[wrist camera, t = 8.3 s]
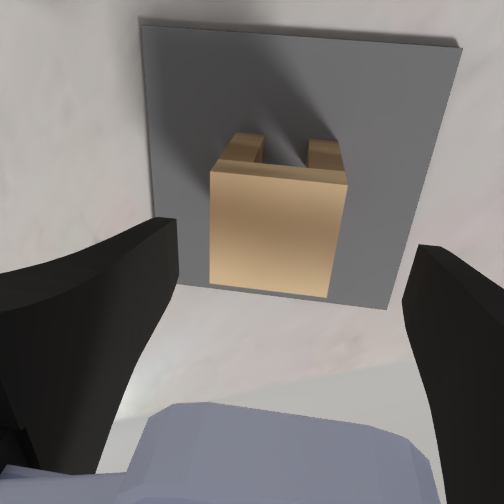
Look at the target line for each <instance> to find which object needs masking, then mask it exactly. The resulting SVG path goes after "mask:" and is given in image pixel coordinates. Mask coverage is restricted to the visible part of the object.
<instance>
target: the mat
mask: <svg viewBox="0 0 504 504" xmlns="http://www.w3.org/2000/svg"><path fill="white" fill-rule="evenodd" d="M141 31H142V45H143V59H144V72H145V86H146V100H147V114H148V128H149V142H150V156H151V170H152V184H153V197H154V211H155V217H164V218H174V219H177V237H178V257H179V277H178V280H177V283H176V284H182V285H190V286H198V287H206V288H214V289H222V290H230V291H238V292H246V293H254V294H262V295H270V296H278V297H286V298H294V299H303V300H311V301H319V302H327V303H335V304H343V305H351V306H359V307H367V308H375V309H383V310H387V307H388V304H389V300H390V297H391V294H392V290H393V287H394V283H395V280H396V276H397V273H398V270H399V266H400V263H401V259H402V256H403V252H404V249H405V246H406V242H407V239H408V235H409V232H410V228H411V225H412V222H413V218H414V215H415V211H416V208H417V204H418V201H419V198H420V194H421V191H422V187H423V184H424V181H425V177H426V174H427V170H428V167H429V163H430V160H431V157H432V153H433V150H434V146H435V143H436V139H437V136H438V133H439V129H440V126H441V122H442V119H443V115H444V112H445V109H446V105H447V102H448V98H449V95H450V91H451V88H452V85H453V81H454V78H455V74H456V71H457V67H458V64H459V61H460V57H461V54H462V50H463V48H456V47H442V46H428V45H414V44H400V43H386V42H372V41H358V40H344V39H330V38H316V37H302V36H288V35H273V34H259V33H245V32H231V31H217V30H203V29H189V28H175V27H161V26H147V25H141ZM236 132H241V133H252V134H263V135H265V136H264V150H263V164H273V165H284V166H294V167H304V168H306V161H307V153H308V146H309V139H317V140H328V141H338V142H339V147H340V151H341V156H342V160H343V165H344V169H345V174H346V178H347V183H348V188H347V193H346V198H345V204H344V209H343V214H342V219H341V225H340V230H339V235H338V240H337V246H336V251H335V256H334V261H333V267H332V272H331V277H330V282H329V288H328V293H327V298H324V297H316V296H308V295H300V294H291V293H283V292H275V291H267V290H259V289H251V288H243V287H235V286H227V285H219V284H210V171H211V169H212V168H213V166H214V165H215V163H216V162H217V160H218V159H219V157H220V156H221V154H222V153H223V151H224V150H225V148H226V147H227V146H228V144H229V143H230V141H231V140H232V138H233V137H234V135H235V134H236Z"/></svg>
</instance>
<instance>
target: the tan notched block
mask: <svg viewBox="0 0 504 504" xmlns="http://www.w3.org/2000/svg"><path fill="white" fill-rule="evenodd" d="M264 136H265V135H263V134H252V133H241V132H236V134H235V135H234V137H233V138H232V140H231V141H230V143H229V144H228V146H227V147H226V148H225V150H224V151H223V153H222V154H221V156H220V157H219V159H218V160H217V162H216V163H215V165H214V166H213V168H212V169H211V171H210V284H219V285H227V286H235V287H243V288H251V289H259V290H267V291H275V292H283V293H291V294H300V295H308V296H316V297H324V298H327V293H328V288H329V282H330V277H331V272H332V267H333V261H334V256H335V251H336V246H337V240H338V235H339V230H340V225H341V219H342V214H343V209H344V204H345V198H346V193H347V188H348V183H347V178H346V174H345V169H344V165H343V160H342V156H341V151H340V147H339V142H338V141H328V140H317V139H309V146H308V153H307V161H306V168H304V167H294V166H284V165H273V164H263V150H264Z"/></svg>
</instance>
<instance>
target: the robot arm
mask: <svg viewBox="0 0 504 504" xmlns="http://www.w3.org/2000/svg"><path fill="white" fill-rule="evenodd" d="M178 277H179V257H178V237H177V219H174V218H164V217H155V218H152V219H149V220H147V221H145V222H143V223H141V224H138V225H136V226H134V227H132V228H130V229H128V230H126V231H124V232H122V233H120V234H118V235H115V236H113V237H111V238H109V239H107V240H104V241H102V242H100V243H97V244H95V245H93V246H90V247H88V248H86V249H83V250H81V251H78V252H76V253H73V254H70V255H67V256H64V257H61V258H58V259H55V260H52V261H49V262H45V263H42V264H38V265H34V266H30V267H26V268H22V269H18V270H14V271H10V272H6V273H1V274H0V504H440V500H439V496H438V493H437V489H436V485H435V481H434V478H433V473H432V470H431V466H430V462H429V460H428V459H427V458H426V457H425V456H424V455H423V454H422V453H421V452H420V451H419V450H418V449H417V448H416V447H415V446H414V445H413V444H412V443H411V442H410V441H409V440H408V439H406V438H404V437H402V436H399V435H396V434H393V433H390V432H387V431H384V430H381V429H378V428H375V427H372V426H369V425H362V424H356V423H349V422H342V421H335V420H328V419H322V418H315V417H308V416H301V415H294V414H287V413H280V412H273V411H267V410H260V409H253V408H246V407H240V406H232V405H226V404H218V403H212V402H198V403H177V404H172V405H170V406H169V407H167V408H165V409H163V410H162V411H160V412H158V413H156V414H155V415H153V416H151V417H149V419H148V421H147V423H146V426H145V428H144V431H143V433H142V435H141V438H140V440H139V443H138V445H137V448H136V450H135V453H134V455H133V457H132V460H131V462H130V464H129V467H128V469H127V472H122V473H106V474H95V473H96V469H97V467H98V464H99V461H100V458H101V455H102V452H103V449H104V446H105V444H106V441H107V438H108V435H109V432H110V429H111V426H112V424H113V421H114V419H115V416H116V413H117V411H118V408H119V405H120V403H121V400H122V397H123V395H124V392H125V390H126V387H127V385H128V382H129V380H130V377H131V375H132V373H133V370H134V368H135V366H136V364H137V361H138V359H139V357H140V355H141V353H142V352H143V350H144V348H145V346H146V344H147V342H148V341H149V339H150V337H151V335H152V333H153V332H154V330H155V328H156V326H157V324H158V322H159V321H160V319H161V317H162V315H163V313H164V311H165V309H166V308H167V306H168V304H169V302H170V300H171V297H172V294H173V292H174V289H175V286H176V283H177V280H178ZM402 307H403V315H404V321H405V327H406V331H407V335H408V338H409V341H410V344H411V348H412V351H413V354H414V357H415V360H416V363H417V366H418V369H419V372H420V376H421V379H422V382H423V384H424V388H425V391H426V394H427V398H428V401H429V405H430V409H431V414H432V418H433V423H434V429H435V434H436V439H437V444H438V450H439V456H440V462H441V468H442V474H443V479H444V486H445V493H446V500H447V504H504V289H503V288H502V287H500V286H499V285H497V284H496V283H494V282H493V281H491V280H490V279H488V278H487V277H485V276H484V275H483V274H481V273H480V272H478V271H477V270H475V269H474V268H473V267H471V266H470V265H468V264H467V263H466V262H464V261H463V260H461V259H460V258H458V257H457V256H455V255H454V254H453V253H451V252H449V251H448V250H446V249H444V248H442V247H440V246H430V245H421V244H419V245H418V248H417V252H416V255H415V258H414V262H413V265H412V268H411V272H410V275H409V278H408V281H407V285H406V288H405V291H404V295H403V298H402Z"/></svg>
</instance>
